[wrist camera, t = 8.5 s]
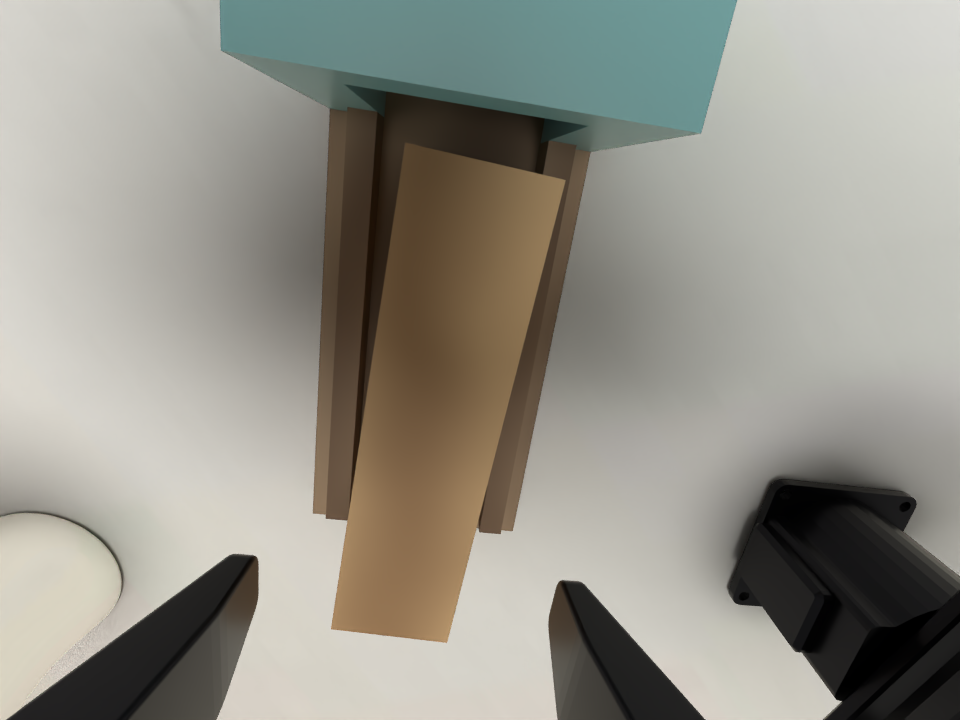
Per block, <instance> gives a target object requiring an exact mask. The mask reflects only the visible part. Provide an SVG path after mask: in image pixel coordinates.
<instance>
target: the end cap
mask: <svg viewBox="0 0 960 720" xmlns="http://www.w3.org/2000/svg"><path fill="white" fill-rule="evenodd" d="M736 2H737V0H220V29H221V51H223V52H225V53H227V54H229V55H231V56H233V57H234V58H236V59H238V60H240V61H242V62H244V63H246V64H248V65H249V66H251V67H253V68H255V69H257V70H259V71H261V72H262V73H264V74H266V75H268V76H270V77H272V78H274V79H276V80H277V81H279V82H281V83H283V84H285V85H287V86H289V87H291V88H292V89H294V90H296V91H298V92H300V93H302V94H304V95H306V96H307V97H309V98H311V99H313V100H315V101H317V102H319V103H320V104H322V105H324V106H326V107H328V108H330V109H335V110H341V111H347V107H351V108H357V109H363V110H369V111H375V112H378V113H379V114H381V115H382V116H383V117H384V115H385V102H386V91H388V92H394V93H399V94H405V95H411V96H417V97H423V98H429V99H434V100H440V101H446V102H452V103H458V104H464V105H470V106H475V107H481V108H487V109H493V110H499V111H505V112H511V113H516V114H522V115H528V116H534V117H540V118H545V120H544V126H543V132H542V138H541V143H543V142H546V141H549V140H550V141H556V142H562V143H568V144H574V145H577V146H576V149H577V150H583V151H589V152H592V151H598V150H604V149H610V148H616V147H622V146H628V145H634V144H640V143H646V142H652V141H658V140H664V139H670V138H676V137H683V136H689V135H695V134H701V132H702V128H703V124H704V120H705V117H706V113H707V109H708V106H709V102H710V98H711V95H712V91H713V87H714V84H715V80H716V76H717V72H718V69H719V65H720V61H721V58H722V54H723V50H724V47H725V43H726V39H727V36H728V32H729V28H730V24H731V21H732V17H733V13H734V10H735V6H736Z"/></svg>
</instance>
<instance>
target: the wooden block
mask: <svg viewBox="0 0 960 720" xmlns="http://www.w3.org/2000/svg"><path fill="white" fill-rule="evenodd" d="M565 181H566V180H563V179H559V178H555V177H550V176H546V175H542V174H537V173H533V172H529V171H525V170H520V169H516V168H512V167H508V166H503V165H499V164H495V163H490V162H486V161H482V160H478V159H473V158H469V157H465V156H460V155H456V154H452V153H448V152H443V151H439V150H435V149H431V148H426V147H422V146H418V145H413V144H409V143H405V148H404V155H403V161H402V168H401V174H400V181H399V188H398V194H397V201H396V207H395V214H394V220H393V227H392V233H391V240H390V246H389V253H388V260H387V266H386V273H385V279H384V286H383V292H382V299H381V305H380V312H379V318H378V325H377V332H376V338H375V345H374V351H373V358H372V364H371V371H370V377H369V384H368V390H367V397H366V404H365V410H364V417H363V423H362V430H361V436H360V443H359V449H358V456H357V463H356V469H355V476H354V482H353V489H352V495H351V502H350V508H349V515H348V521H347V528H346V535H345V541H344V548H343V554H342V561H341V567H340V574H339V580H338V587H337V593H336V600H335V607H334V613H333V620H332V626H331V629H334V630H343V631H351V632H360V633H368V634H377V635H386V636H394V637H403V638H411V639H420V640H428V641H437V642H445V643H447V641H448V637H449V633H450V629H451V625H452V621H453V617H454V613H455V609H456V605H457V602H458V598H459V594H460V590H461V586H462V582H463V578H464V574H465V570H466V567H467V563H468V559H469V555H470V551H471V547H472V543H473V539H474V535H475V531H476V528H477V524H478V520H479V516H480V512H481V508H482V504H483V500H484V496H485V492H486V489H487V485H488V481H489V477H490V473H491V469H492V465H493V461H494V457H495V454H496V450H497V446H498V442H499V438H500V434H501V430H502V426H503V422H504V418H505V415H506V411H507V407H508V403H509V399H510V395H511V391H512V387H513V383H514V380H515V376H516V372H517V368H518V364H519V360H520V356H521V352H522V348H523V344H524V341H525V337H526V333H527V329H528V325H529V321H530V317H531V313H532V309H533V306H534V302H535V298H536V294H537V290H538V286H539V282H540V278H541V274H542V270H543V267H544V263H545V259H546V255H547V251H548V247H549V243H550V239H551V235H552V231H553V228H554V224H555V220H556V216H557V212H558V208H559V204H560V200H561V196H562V193H563V189H564V185H565Z"/></svg>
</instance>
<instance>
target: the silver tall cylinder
mask: <svg viewBox="0 0 960 720" xmlns="http://www.w3.org/2000/svg"><path fill="white" fill-rule="evenodd" d="M121 587H122V579H121V573H120V570H119V567H118V564H117V562H116V560H115V558H114V556H113V555H112V553H111V552H110V551H109V549H108V548H107V547H106V546H105V545H104V544H103V543H102V542H101V541H100V540H99V539H98V538H97V537H96V536H94V535H93V534H92V533H90V532H89V531H87V530H86V529H84V528H82V527H81V526H79V525H77V524H75V523H73V522H70V521H68V520H65V519H62V518H59V517H56V516H51V515H46V514H40V513H15V514H9V515H5V516H2V517H0V720H6V719H7V718H9V717H10V716H12V715H13V714H14V713H16V712H17V711H18V710H20V709H21V707H22V706H23V704H24V702H25V701H26V699H27V698H28V697H29V696H30V694H31V693H32V692H33V690H34V689H35V688H36V686H37V685H38V684H39V682H40V681H41V680H42V678H43V677H44V676H45V675H46V674H47V673H48V671H49V670H50V669H51V668H52V667H53V666H54V665H55V664H56V662H57V661H58V660H59V659H60V658H61V657H62V656H63V655H65V654H66V653H67V652H68V651H69V650H70V649H71V648H72V647H73V646H74V645H75V644H76V643H78V642H79V641H80V640H81V639H82V638H83V637H84V636H86V635H87V634H88V633H89V632H90V631H91V630H92V629H93V628H95V627H96V626H97V625H98V624H99V623H100V622H101V621H102V620H103V619H104V618H105V617H106V616H107V615H108V614H109V613H110V612H111V611H112V609H113V608H114V606H115V605H116V603H117V601H118V599H119V596H120V593H121Z"/></svg>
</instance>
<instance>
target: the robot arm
mask: <svg viewBox="0 0 960 720" xmlns="http://www.w3.org/2000/svg"><path fill="white" fill-rule="evenodd" d="M784 490H785V492H784V493H782V494H781V492H782V491H784ZM915 508H916V500H915V499H914V498H912V497H911V496H910V495H908V494H907V493H905V492H901V491H892V490H882V489H873V488H863V487H854V486H844V485H835V484H825V483H816V482H806V481H797V480H787V479H780V480H777V481H775V482H774V483H773V484H771V486H770V488H769V490H768V492H767V495H766V497H765V500H764V502H763V505H762V507H761V510H760V512H759V515H758V517H757V520H756V522H755V525H754V527H753V530H752V532H751V535H750V537H749V540H748V542H747V545H746V547H745V550H744V552H743V555H742V557H741V560H740V562H739V565H738V567H737V570H736V572H735V575H734V577H733V580H732V582H731V585H730V587H729V595H730V596H731V598H732V599H733V601H734V602H735V603H736V604H739V605H750V606H762V607H763V608H764V610H765V611H766V612H767V614H768V615H769V617H770V618H771V619H772V621H773V622H774V624H775V625H776V626H777V628H778V629H779V631H780V632H781V633H782V635H783V636H784V638H785V639H786V640H787V642H788V643H789V645H790V646H791V647H792V649H793V650H794V651H795V652H802V653H803V655H804V656H805V657H806V659H807V660H808V661H809V663H810V664H811V666H812V667H813V668H814V670H815V671H816V672H817V674H818V675H819V677H820V678H821V679H822V681H823V682H824V683H825V685H826V686H827V687H828V689H829V690H830V692H831V693H832V694H833V696H834V697H835V698H836V700H839V701H842V702H841V703H840V704H839V705H838V706H837V707H836V708H835V709H834V710H833V711H831V712H830V713H829V714H828V715H827V716H826V717H825V718H824V719H823V720H960V576H959V575H957V574H956V573H955V572H953V571H952V570H951V569H950V568H948V567H947V566H946V565H945V564H943V563H942V562H941V561H940V560H938V559H937V558H936V557H935V556H933V555H932V554H931V553H930V552H928V551H927V550H926V549H924V548H923V547H922V546H921V545H919V544H918V543H917V542H916V541H914V540H913V539H912V538H911V537H909V536H908V535H907V534H906V533H904V532H903V531H904V529H905V527H906V525H907V523H908V521H909V519H910V517H911V515H912V514H913V512H914V510H915ZM257 601H258V559H257V557H256V556H254V555H244V554H232V555H229V556H228V557H226V558H225V559H224V560H222V561H221V562H219V563H218V564H217V565H215V566H214V567H213V568H211V569H210V570H209V571H207V572H206V573H205V574H203V575H202V576H200V577H199V578H198V579H196V580H195V581H194V582H192V583H191V584H190V585H188V586H187V587H186V588H184V589H183V590H181V591H180V592H179V593H177V594H176V595H175V596H173V597H172V598H171V599H169V600H168V601H166V602H165V603H164V604H162V605H161V606H160V607H158V608H157V609H156V610H154V611H153V612H152V613H150V614H149V615H147V616H146V617H145V618H143V619H142V620H141V621H139V622H138V623H137V624H135V625H134V626H132V627H131V628H130V629H128V630H127V631H126V632H124V633H123V634H122V635H120V636H119V637H118V638H116V639H115V640H113V641H112V642H111V643H109V644H108V645H107V646H105V647H104V648H103V649H101V650H100V651H99V652H97V653H96V654H94V655H93V656H92V657H90V658H89V659H88V660H86V661H85V662H84V663H82V664H81V665H79V666H78V667H77V668H75V669H74V670H73V671H71V672H70V673H69V674H67V675H66V676H65V677H63V678H62V679H60V680H59V681H58V682H56V683H55V684H54V685H52V686H51V687H50V688H48V689H47V690H46V691H44V692H43V693H41V694H40V695H39V696H37V697H36V698H35V699H33V700H32V701H31V702H29V703H28V704H26V705H25V706H24V707H22V708H21V709H20V710H18V711H17V712H16V713H14V714H13V715H12V716H10V717H9V718H7V719H6V720H216V719H217V717H218V715H219V712H220V710H221V708H222V705H223V702H224V700H225V697H226V694H227V691H228V688H229V685H230V683H231V680H232V677H233V674H234V671H235V668H236V665H237V662H238V659H239V656H240V653H241V650H242V647H243V644H244V641H245V638H246V635H247V632H248V630H249V627H250V624H251V621H252V618H253V615H254V612H255V609H256V605H257ZM548 625H549V639H550V649H551V659H552V669H553V679H554V690H555V700H556V710H557V718H558V720H705V719H704V718H703V717H702V716H701V714H700V713H699V712H698V711H697V710H696V709H695V708H694V707H693V705H692V704H691V703H690V702H689V701H688V700H687V699H686V698H685V697H684V695H683V694H682V693H681V692H680V691H679V690H678V689H677V688H676V686H675V685H674V684H673V683H672V682H671V681H670V680H669V679H668V677H667V676H666V675H665V674H664V673H663V672H662V671H661V670H660V669H659V667H658V666H657V665H656V664H655V663H654V662H653V661H652V660H651V658H650V657H649V656H648V655H647V654H646V653H645V652H644V651H643V649H642V648H641V647H640V646H639V645H638V644H637V643H636V642H635V641H634V639H633V638H632V637H631V636H630V635H629V634H628V633H627V632H626V630H625V629H624V628H623V627H622V626H621V625H620V624H619V623H618V621H617V620H616V619H615V618H614V617H613V616H612V615H611V614H610V613H609V611H608V610H607V609H606V608H605V607H604V606H603V605H602V604H601V602H600V601H599V600H598V599H597V598H596V597H595V596H594V595H593V593H592V592H591V591H590V590H589V589H588V588H587V587H586V586H585V585H584V584H583V583H582V582H579V581H567V580H562V581H560V582H559V583H558V584H557V587H556V590H555V594H554V598H553V602H552V606H551V610H550V614H549V624H548Z"/></svg>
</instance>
